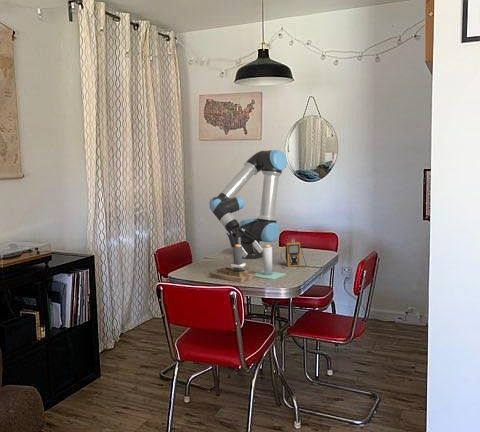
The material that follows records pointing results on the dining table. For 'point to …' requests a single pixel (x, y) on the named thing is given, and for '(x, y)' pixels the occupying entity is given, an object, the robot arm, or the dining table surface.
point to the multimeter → (293, 253)
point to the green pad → (273, 276)
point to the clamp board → (232, 275)
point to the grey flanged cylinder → (237, 259)
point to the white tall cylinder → (267, 260)
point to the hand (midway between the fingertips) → (253, 253)
